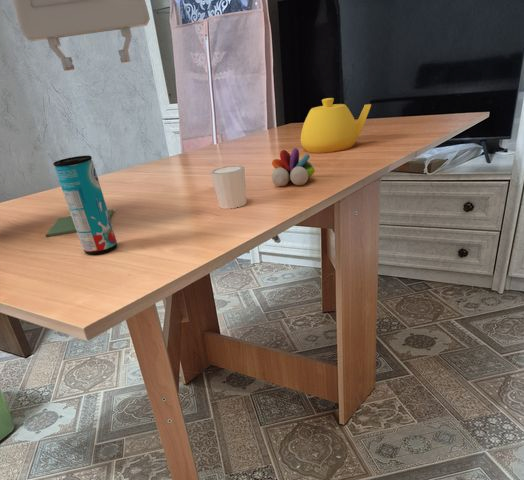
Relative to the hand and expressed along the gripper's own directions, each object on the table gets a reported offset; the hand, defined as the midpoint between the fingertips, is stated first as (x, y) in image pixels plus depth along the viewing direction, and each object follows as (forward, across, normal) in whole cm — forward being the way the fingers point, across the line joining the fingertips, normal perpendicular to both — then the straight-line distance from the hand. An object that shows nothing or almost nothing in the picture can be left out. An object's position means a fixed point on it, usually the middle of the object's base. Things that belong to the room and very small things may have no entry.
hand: (97, 66), depth 78 cm
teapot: (+27, -54, -48) cm, 77 cm away
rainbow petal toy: (+27, -34, -13) cm, 45 cm away
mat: (+27, +13, -8) cm, 31 cm away
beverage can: (+27, +6, +12) cm, 30 cm away
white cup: (+27, -19, -3) cm, 33 cm away
